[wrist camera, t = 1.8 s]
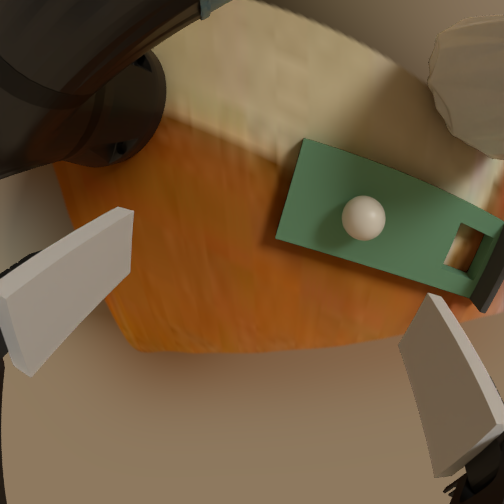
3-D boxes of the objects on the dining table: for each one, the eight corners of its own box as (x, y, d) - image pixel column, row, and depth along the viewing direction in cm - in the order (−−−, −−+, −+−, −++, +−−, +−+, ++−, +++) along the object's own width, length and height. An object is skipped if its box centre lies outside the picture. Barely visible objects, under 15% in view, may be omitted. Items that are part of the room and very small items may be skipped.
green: (276, 231, 32) (263, 289, 21) (303, 137, 28) (307, 143, 17) (480, 296, 31) (524, 353, 20) (512, 226, 27) (571, 268, 16)
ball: (333, 224, 28) (338, 239, 25) (346, 185, 27) (354, 195, 23) (371, 237, 28) (380, 253, 25) (385, 199, 27) (397, 210, 23)
